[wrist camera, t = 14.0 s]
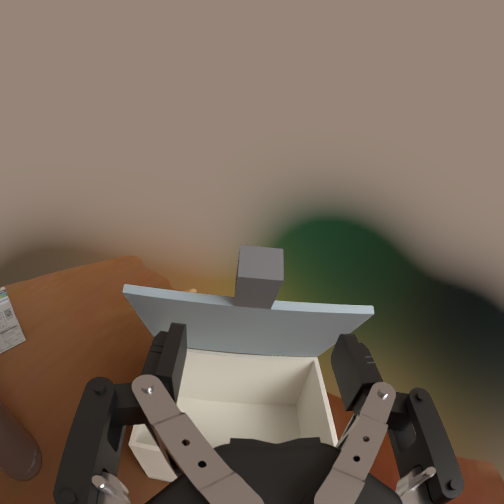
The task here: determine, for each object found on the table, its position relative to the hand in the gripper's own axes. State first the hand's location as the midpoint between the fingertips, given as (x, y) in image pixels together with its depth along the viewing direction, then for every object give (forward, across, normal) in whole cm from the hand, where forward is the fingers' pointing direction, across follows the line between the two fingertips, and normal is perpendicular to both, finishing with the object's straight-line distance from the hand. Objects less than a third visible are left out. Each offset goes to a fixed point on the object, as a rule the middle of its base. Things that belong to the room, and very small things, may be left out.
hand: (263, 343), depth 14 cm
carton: (+8, 0, +30) cm, 31 cm away
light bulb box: (+18, +50, +30) cm, 61 cm away
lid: (+11, 0, +8) cm, 14 cm away
